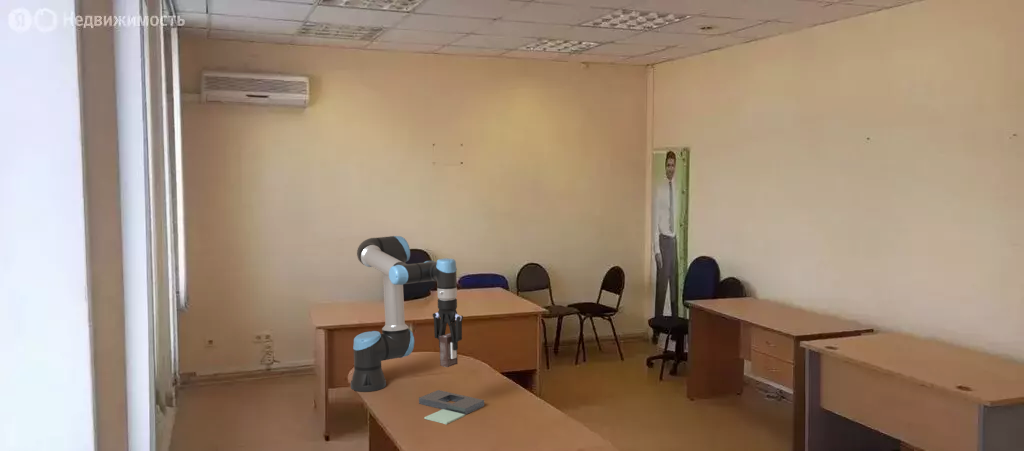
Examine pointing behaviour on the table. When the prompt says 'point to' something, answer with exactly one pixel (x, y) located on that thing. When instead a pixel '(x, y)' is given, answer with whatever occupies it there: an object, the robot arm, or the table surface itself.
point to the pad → (444, 416)
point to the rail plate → (460, 406)
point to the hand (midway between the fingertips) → (448, 357)
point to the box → (446, 351)
